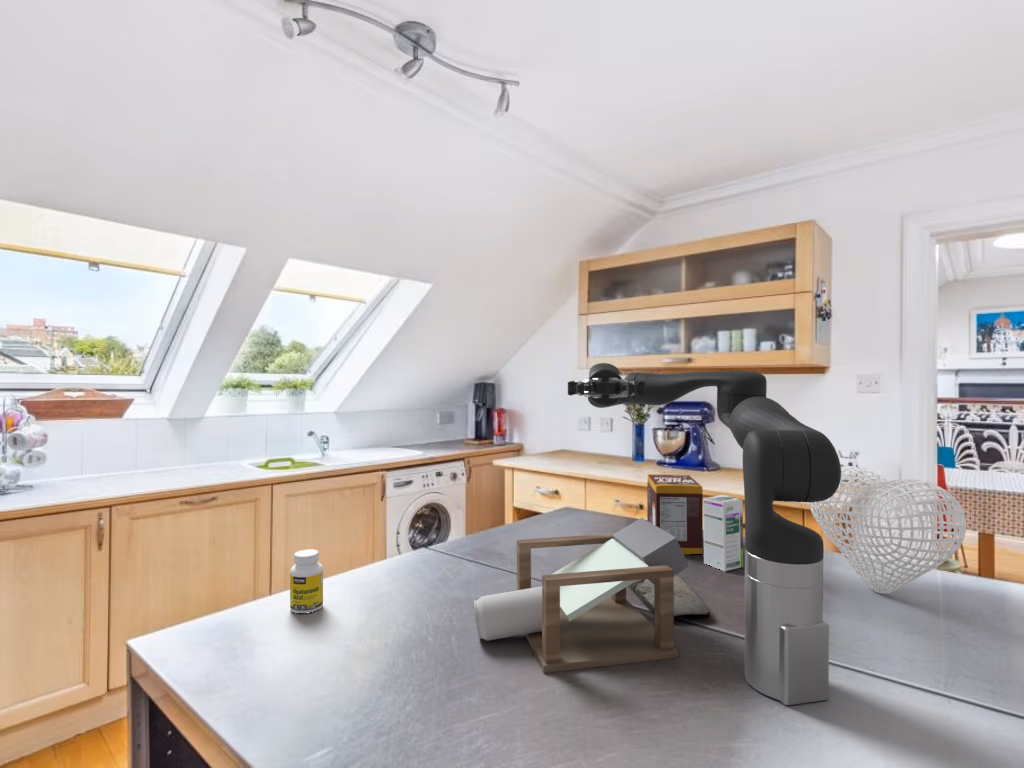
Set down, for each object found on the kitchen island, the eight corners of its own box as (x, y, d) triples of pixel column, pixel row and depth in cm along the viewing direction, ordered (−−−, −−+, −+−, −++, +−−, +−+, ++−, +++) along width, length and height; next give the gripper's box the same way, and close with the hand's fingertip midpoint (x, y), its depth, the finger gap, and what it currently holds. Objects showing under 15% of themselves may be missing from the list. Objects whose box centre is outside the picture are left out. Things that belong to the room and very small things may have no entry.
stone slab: (656, 613, 90) (610, 549, 120) (655, 632, 90) (609, 563, 120) (717, 612, 91) (657, 548, 121) (717, 631, 91) (656, 563, 121)
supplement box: (688, 535, 140) (688, 473, 139) (703, 555, 124) (703, 486, 124) (646, 534, 141) (646, 473, 141) (655, 554, 125) (656, 485, 125)
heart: (792, 568, 116) (792, 462, 115) (859, 564, 118) (859, 460, 118) (906, 629, 88) (907, 489, 88) (990, 622, 90) (992, 486, 90)
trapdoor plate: (692, 568, 83) (679, 539, 83) (578, 639, 80) (563, 609, 79) (651, 541, 97) (639, 516, 96) (552, 600, 93) (539, 574, 93)
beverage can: (547, 591, 91) (474, 604, 90) (549, 579, 85) (471, 592, 85) (555, 633, 87) (479, 646, 86) (557, 623, 82) (476, 637, 81)
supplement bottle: (288, 616, 94) (287, 559, 93) (292, 604, 99) (291, 549, 99) (322, 612, 95) (321, 556, 95) (324, 600, 100) (323, 546, 100)
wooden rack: (678, 657, 80) (678, 570, 79) (543, 673, 76) (543, 581, 75) (623, 601, 99) (623, 532, 99) (513, 611, 95) (513, 539, 95)
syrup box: (725, 572, 114) (725, 501, 113) (702, 564, 119) (702, 496, 118) (743, 567, 116) (744, 498, 116) (721, 559, 122) (721, 493, 121)
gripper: (570, 369, 116) (566, 368, 100) (639, 368, 114) (647, 367, 98) (570, 404, 116) (566, 409, 100) (639, 405, 114) (647, 410, 98)
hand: (606, 389), depth 99 cm, fingers open, 8 cm apart
